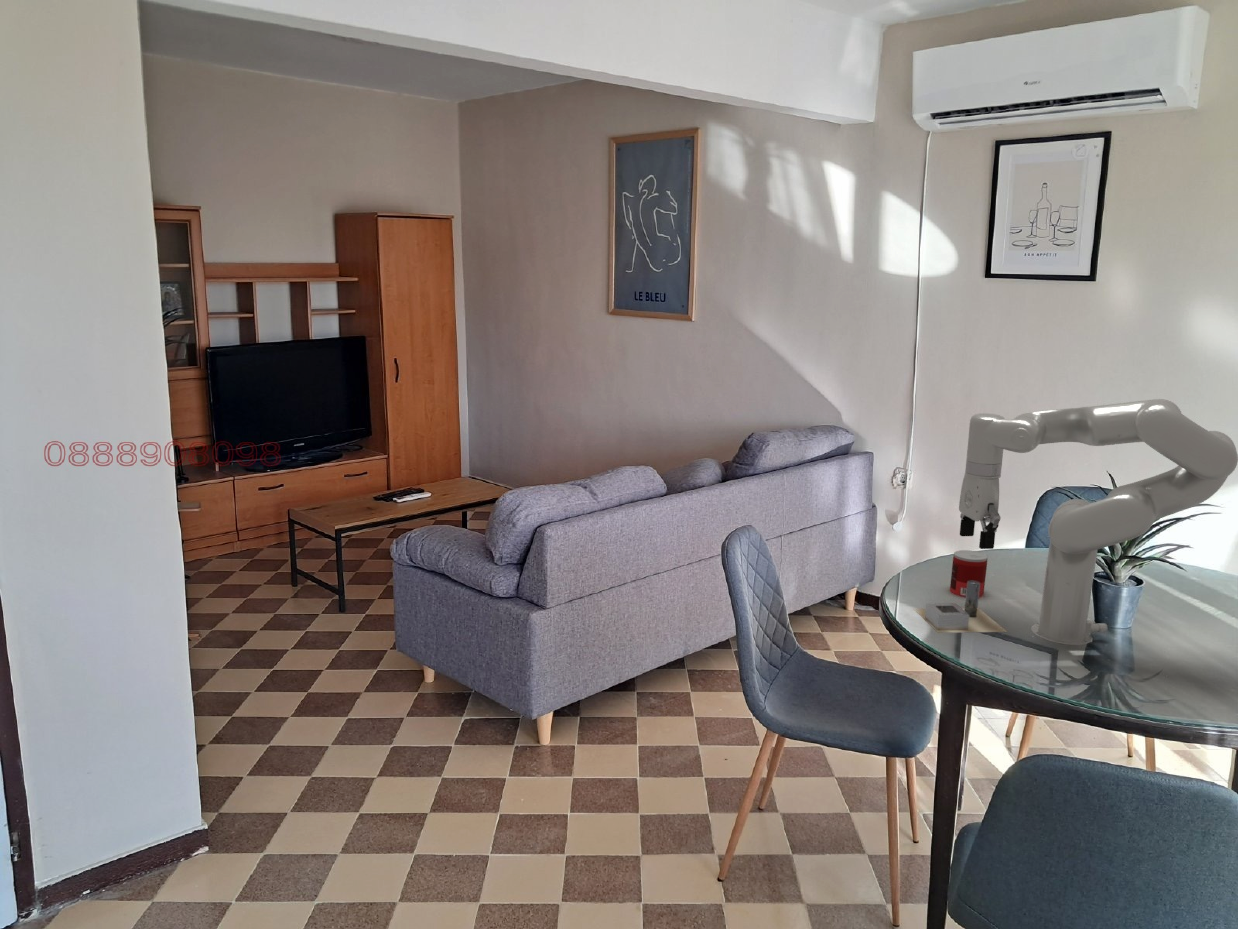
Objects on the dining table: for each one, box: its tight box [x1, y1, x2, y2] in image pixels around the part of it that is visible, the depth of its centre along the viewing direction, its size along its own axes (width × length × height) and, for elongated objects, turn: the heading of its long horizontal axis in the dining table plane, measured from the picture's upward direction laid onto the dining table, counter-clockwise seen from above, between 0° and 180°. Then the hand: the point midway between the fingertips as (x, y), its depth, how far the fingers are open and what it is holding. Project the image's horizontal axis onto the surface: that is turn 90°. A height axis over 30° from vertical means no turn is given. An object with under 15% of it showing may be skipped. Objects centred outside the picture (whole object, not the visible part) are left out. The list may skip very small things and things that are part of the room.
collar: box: [925, 602, 969, 630], centre depth 216 cm, size 7×7×4 cm
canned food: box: [949, 549, 989, 598], centre depth 236 cm, size 8×8×11 cm
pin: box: [963, 580, 980, 617], centre depth 221 cm, size 3×3×8 cm
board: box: [913, 608, 1008, 634], centre depth 218 cm, size 16×14×1 cm
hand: (976, 542), depth 218 cm, fingers open, 9 cm apart
